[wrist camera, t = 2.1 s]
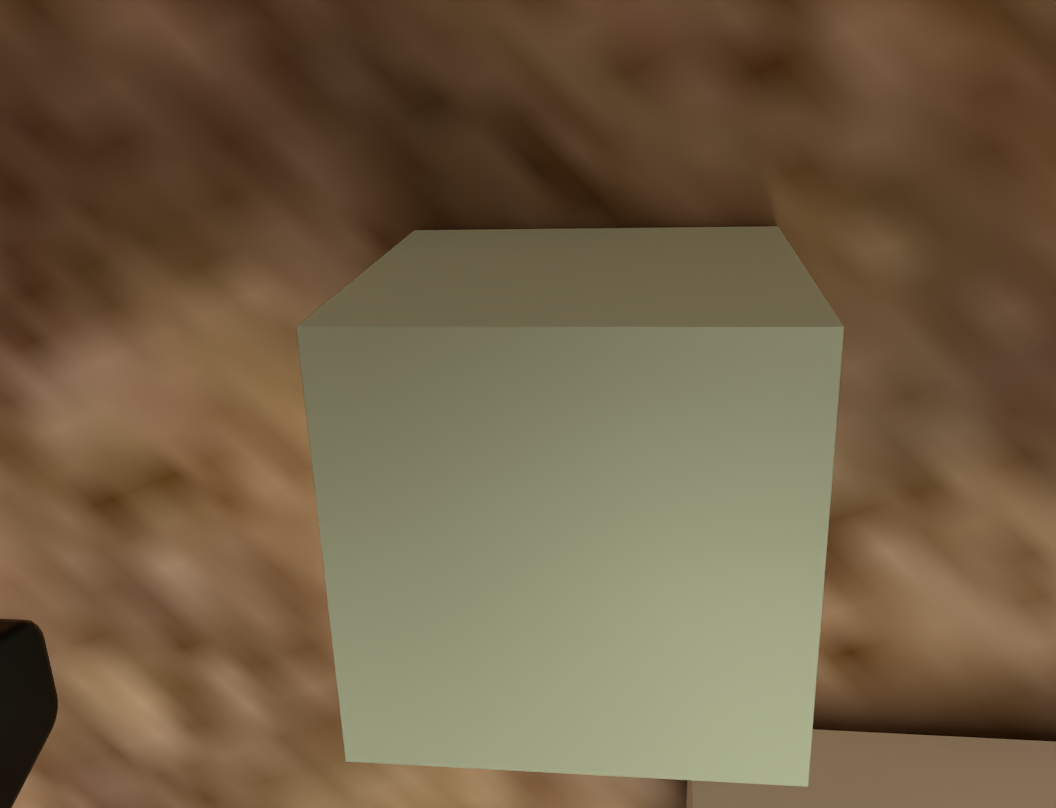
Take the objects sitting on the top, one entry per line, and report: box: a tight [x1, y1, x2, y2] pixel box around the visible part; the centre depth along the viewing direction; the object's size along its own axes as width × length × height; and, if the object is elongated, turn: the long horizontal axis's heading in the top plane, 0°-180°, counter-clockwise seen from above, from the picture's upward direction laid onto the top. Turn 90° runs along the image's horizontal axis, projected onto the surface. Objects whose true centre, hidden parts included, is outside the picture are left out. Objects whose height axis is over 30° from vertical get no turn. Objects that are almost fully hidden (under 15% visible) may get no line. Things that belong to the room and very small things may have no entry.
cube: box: [296, 226, 844, 787], centre depth 12 cm, size 5×5×5 cm
